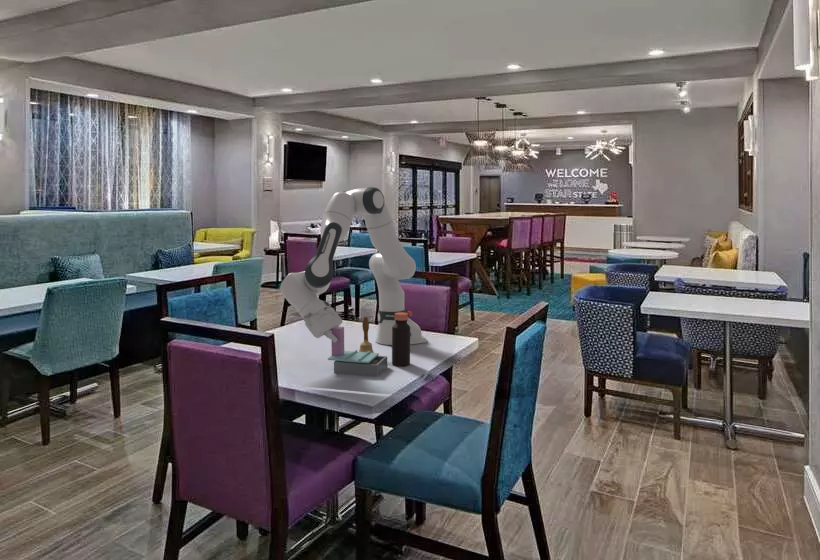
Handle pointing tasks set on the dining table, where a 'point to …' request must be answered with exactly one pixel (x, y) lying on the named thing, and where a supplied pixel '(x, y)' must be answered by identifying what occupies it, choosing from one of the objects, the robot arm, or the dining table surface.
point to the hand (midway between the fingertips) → (339, 339)
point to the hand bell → (366, 338)
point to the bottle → (401, 340)
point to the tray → (361, 367)
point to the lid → (348, 356)
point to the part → (372, 362)
